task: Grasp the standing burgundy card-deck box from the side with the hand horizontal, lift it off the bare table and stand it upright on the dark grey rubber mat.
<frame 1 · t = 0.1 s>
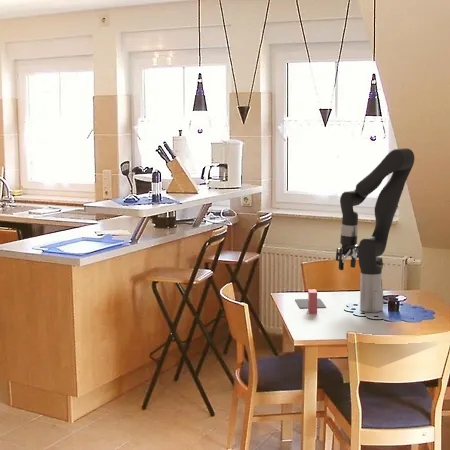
hand: (346, 268, 352), 17 cm above the table, tool pointing down, fingers open, 8 cm apart
mat: (310, 303, 358), on the table
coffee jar: (372, 294, 375), on the table
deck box: (312, 311, 344), on the table
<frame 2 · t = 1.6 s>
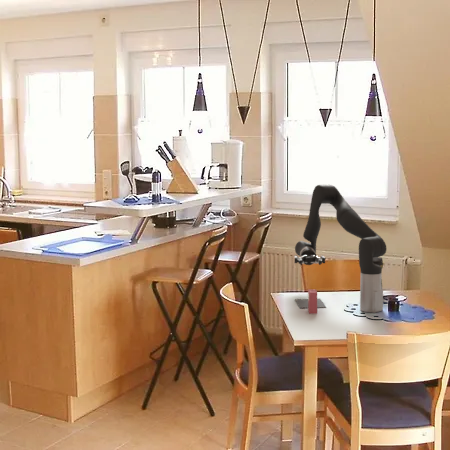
hand: (310, 262, 352), 20 cm above the table, tool horizontal, fingers open, 8 cm apart
nothing on the table moved.
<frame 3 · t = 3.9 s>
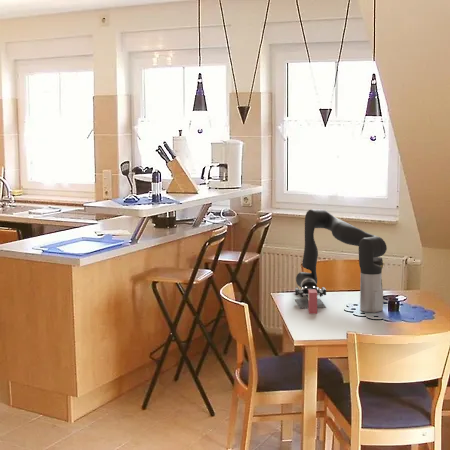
hand: (311, 294, 350), 6 cm above the table, tool horizontal, fingers open, 8 cm apart
nothing on the table moved.
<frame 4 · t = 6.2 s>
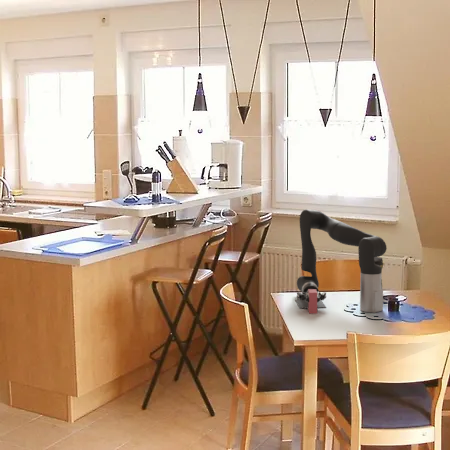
hand: (313, 299, 340), 6 cm above the table, tool horizontal, fingers closed on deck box, 3 cm apart
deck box: (312, 311, 344), on the table, touching gripper
everything else where it was.
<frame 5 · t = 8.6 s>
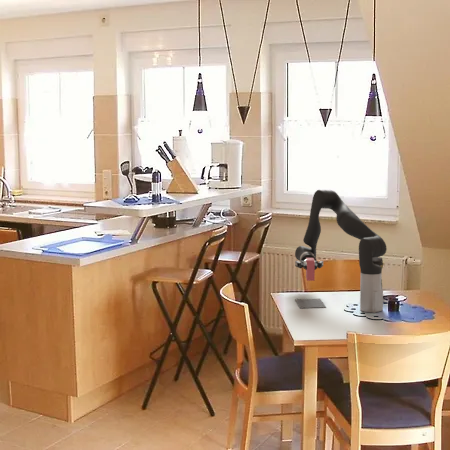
hand: (310, 267, 352), 18 cm above the table, tool horizontal, fingers closed on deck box, 3 cm apart
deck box: (310, 279, 356), point 12 cm above the table, touching gripper
everything else where it was.
when the fingers open (7 cm above the table, at t = 10.8 s): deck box drops 1 cm, resting on mat.
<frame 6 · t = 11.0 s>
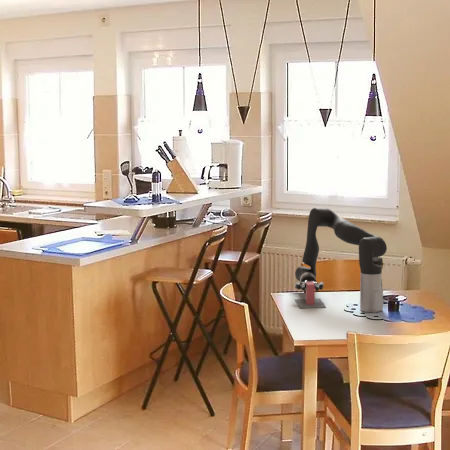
hand: (310, 289, 354), 8 cm above the table, tool horizontal, fingers open, 5 cm apart
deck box: (310, 303, 358), resting on mat
everything else where it was.
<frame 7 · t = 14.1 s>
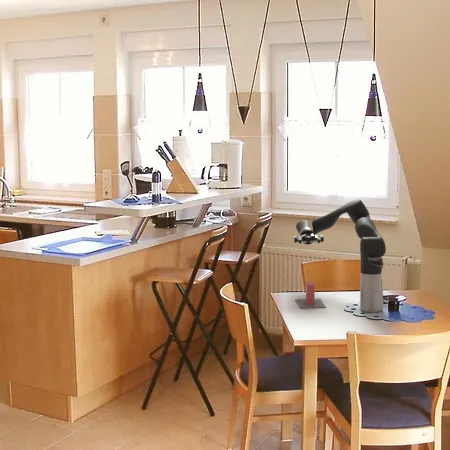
hand: (309, 241, 365), 28 cm above the table, tool horizontal, fingers open, 8 cm apart
nothing on the table moved.
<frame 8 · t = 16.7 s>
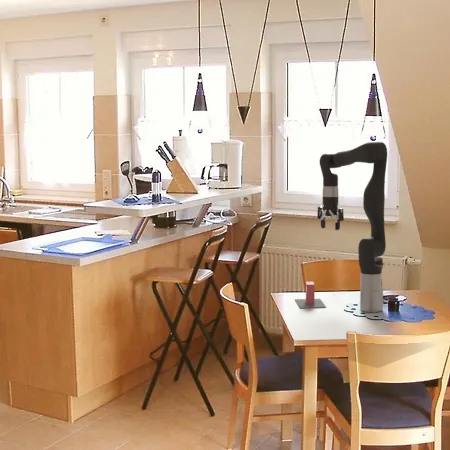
hand: (330, 228, 367), 33 cm above the table, tool pointing down, fingers open, 8 cm apart
nothing on the table moved.
at the end: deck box inside the target area on the mat (0.1 cm from its centre), point 0.4 cm above the mat's base; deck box tilted 0°; the gripper is holding nothing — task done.
